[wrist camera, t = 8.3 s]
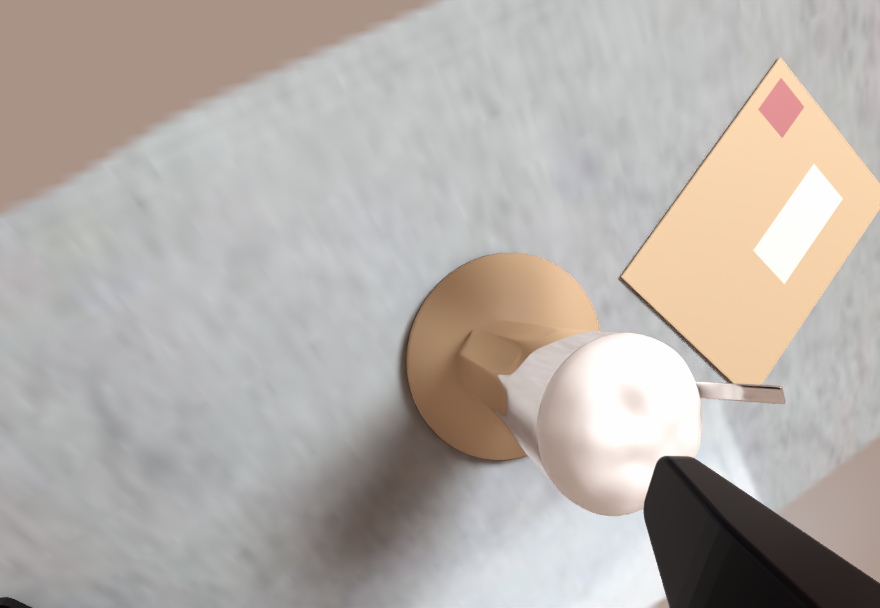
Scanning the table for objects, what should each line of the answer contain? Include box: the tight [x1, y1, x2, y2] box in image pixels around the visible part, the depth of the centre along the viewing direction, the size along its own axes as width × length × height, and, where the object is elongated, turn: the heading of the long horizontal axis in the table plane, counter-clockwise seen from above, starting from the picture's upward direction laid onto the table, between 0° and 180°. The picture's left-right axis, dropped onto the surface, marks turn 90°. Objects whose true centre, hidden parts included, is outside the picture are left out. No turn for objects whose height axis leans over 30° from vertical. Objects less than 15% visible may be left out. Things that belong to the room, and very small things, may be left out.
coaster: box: [406, 253, 600, 460], centre depth 22 cm, size 8×8×1 cm
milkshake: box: [458, 320, 785, 516], centre depth 17 cm, size 4×5×10 cm
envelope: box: [620, 57, 880, 385], centre depth 26 cm, size 12×9×1 cm
